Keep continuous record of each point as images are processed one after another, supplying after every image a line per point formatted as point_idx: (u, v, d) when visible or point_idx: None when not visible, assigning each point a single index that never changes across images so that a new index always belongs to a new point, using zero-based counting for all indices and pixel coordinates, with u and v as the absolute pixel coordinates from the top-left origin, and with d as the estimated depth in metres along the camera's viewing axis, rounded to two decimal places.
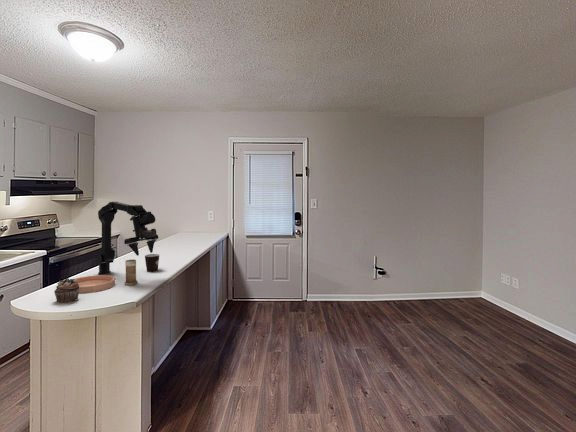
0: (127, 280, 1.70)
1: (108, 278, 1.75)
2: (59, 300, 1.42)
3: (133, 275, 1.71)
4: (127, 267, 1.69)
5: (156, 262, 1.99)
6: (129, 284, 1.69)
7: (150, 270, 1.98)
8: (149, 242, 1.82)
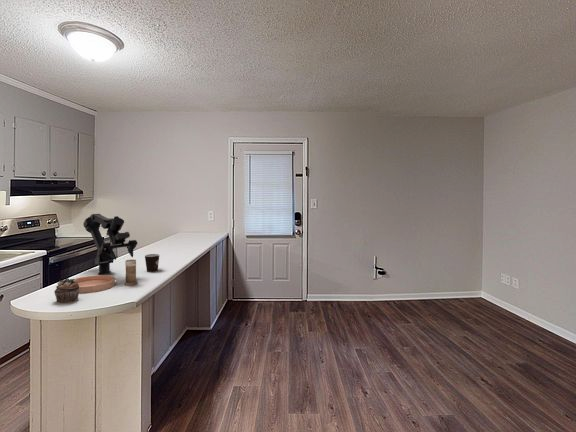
0: (127, 280, 1.70)
1: (108, 278, 1.75)
2: (59, 300, 1.42)
3: (133, 275, 1.71)
4: (127, 267, 1.69)
5: (156, 262, 1.99)
6: (129, 284, 1.69)
7: (150, 270, 1.98)
8: (129, 248, 1.82)
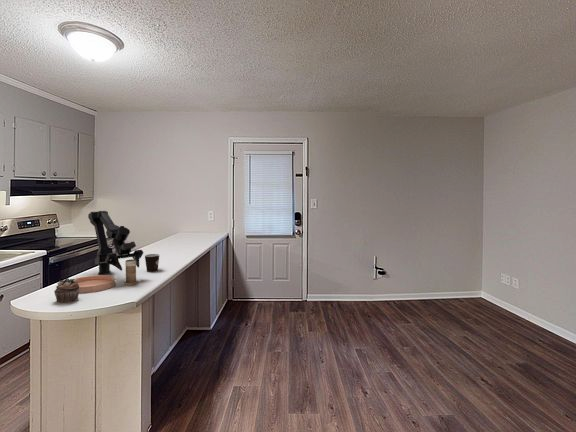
0: (127, 280, 1.70)
1: (108, 278, 1.75)
2: (59, 300, 1.42)
3: (133, 275, 1.71)
4: (127, 267, 1.69)
5: (156, 262, 1.99)
6: (129, 284, 1.69)
7: (150, 270, 1.98)
8: (135, 258, 1.79)
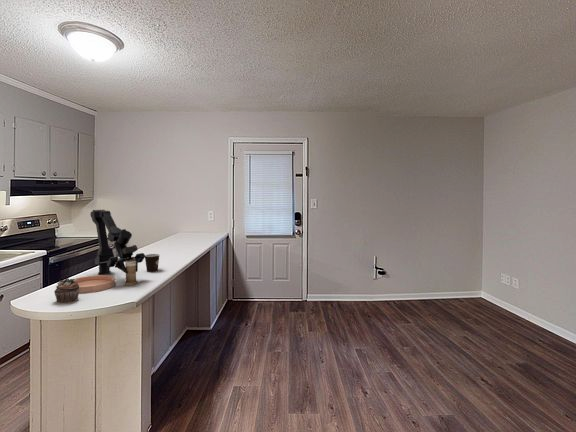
0: (127, 280, 1.70)
1: (108, 278, 1.75)
2: (59, 300, 1.42)
3: (133, 275, 1.71)
4: (127, 267, 1.69)
5: (156, 262, 1.99)
6: (129, 284, 1.69)
7: (150, 270, 1.98)
8: None
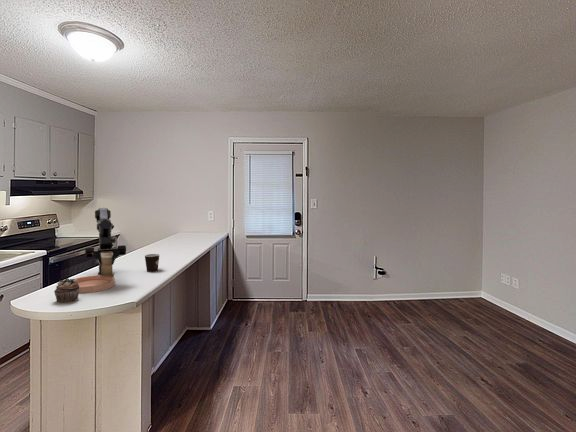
0: (101, 272, 1.62)
1: (108, 278, 1.75)
2: (59, 300, 1.42)
3: (107, 267, 1.62)
4: (102, 258, 1.61)
5: (156, 262, 1.99)
6: (102, 277, 1.61)
7: (150, 270, 1.98)
8: (113, 255, 1.68)
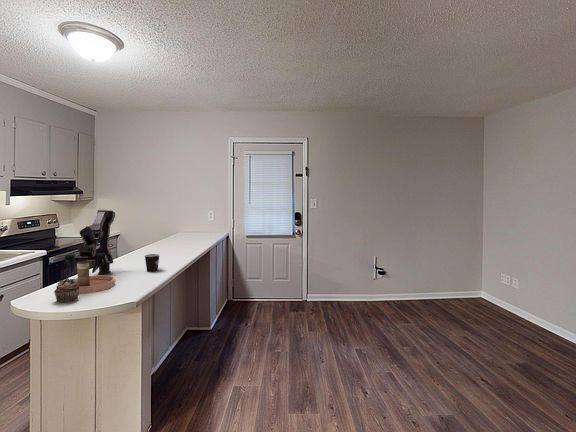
0: (78, 283, 1.59)
1: (108, 278, 1.75)
2: (59, 300, 1.42)
3: (82, 278, 1.58)
4: (77, 269, 1.58)
5: (156, 262, 1.99)
6: None
7: (150, 270, 1.98)
8: None
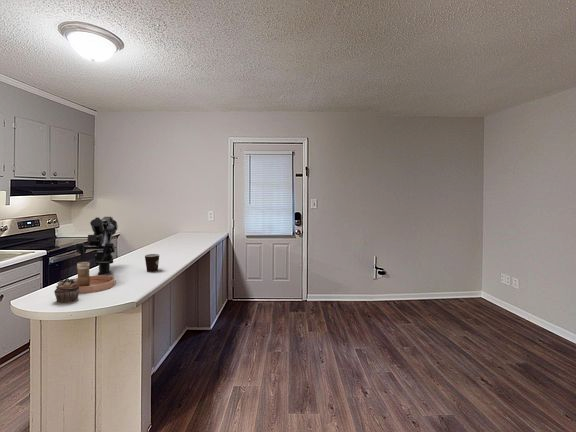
0: (78, 283, 1.59)
1: (108, 278, 1.75)
2: (59, 300, 1.42)
3: (82, 279, 1.58)
4: (77, 268, 1.58)
5: (156, 262, 1.99)
6: None
7: (150, 270, 1.98)
8: None
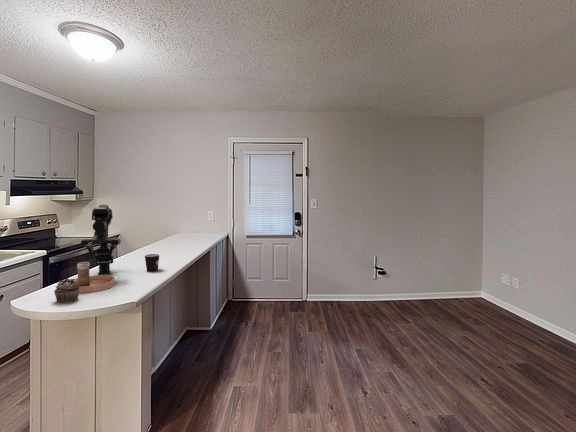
0: (78, 283, 1.59)
1: (108, 278, 1.75)
2: (59, 300, 1.42)
3: (82, 279, 1.58)
4: (77, 268, 1.58)
5: (156, 262, 1.99)
6: None
7: (150, 270, 1.98)
8: None
